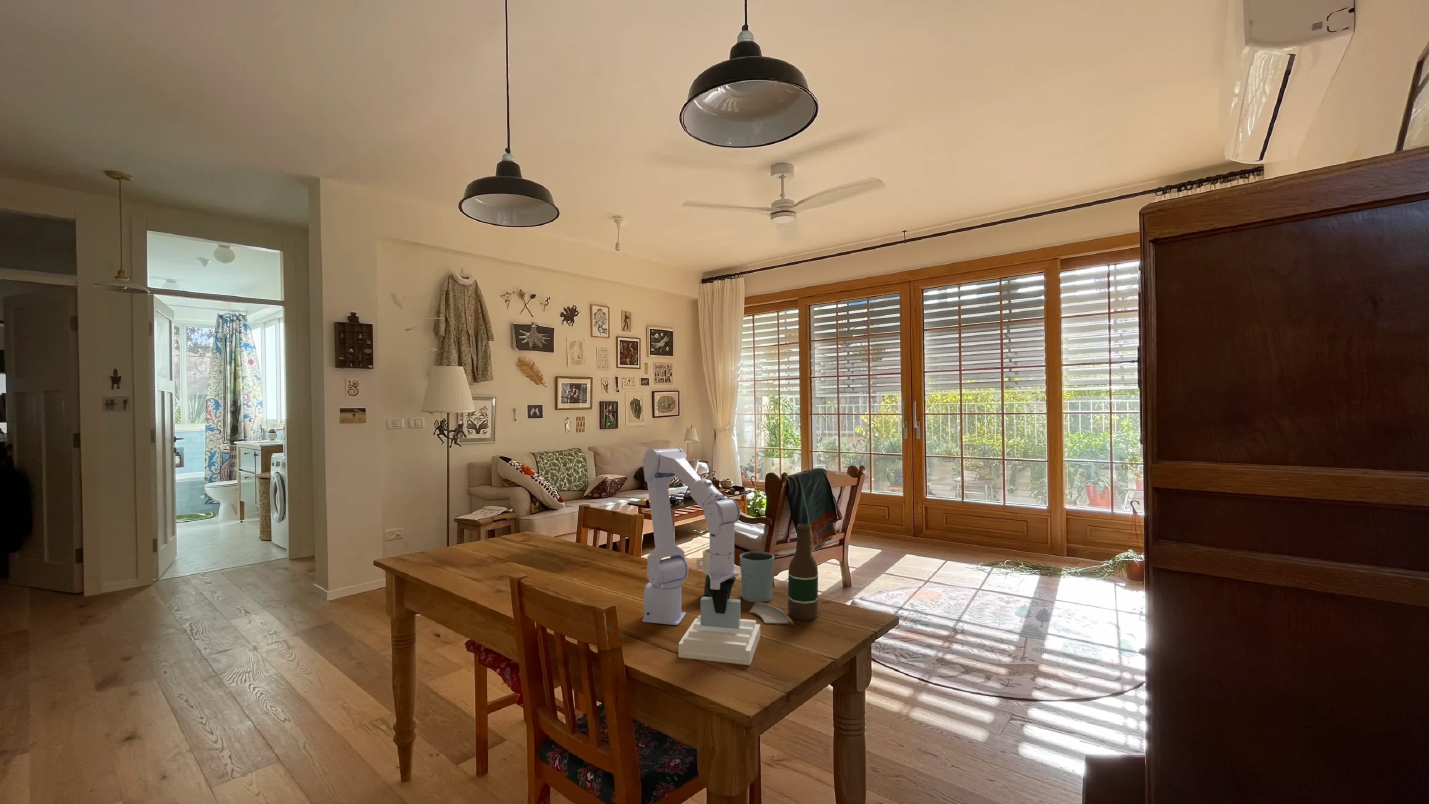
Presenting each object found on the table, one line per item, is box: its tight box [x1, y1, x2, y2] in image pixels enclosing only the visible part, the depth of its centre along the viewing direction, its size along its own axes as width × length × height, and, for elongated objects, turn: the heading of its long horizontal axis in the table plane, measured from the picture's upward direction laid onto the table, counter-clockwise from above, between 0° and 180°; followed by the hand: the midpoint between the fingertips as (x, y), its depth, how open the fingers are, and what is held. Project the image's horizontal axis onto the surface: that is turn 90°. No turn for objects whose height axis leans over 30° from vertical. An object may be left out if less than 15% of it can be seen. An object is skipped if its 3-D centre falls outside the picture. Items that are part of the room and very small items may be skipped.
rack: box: [677, 614, 761, 666], centre depth 131 cm, size 16×15×4 cm
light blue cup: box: [739, 551, 775, 603], centre depth 165 cm, size 10×10×12 cm
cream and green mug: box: [696, 548, 712, 597], centre depth 166 cm, size 11×7×13 cm, turn 104°
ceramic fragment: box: [748, 602, 795, 626], centre depth 148 cm, size 14×5×4 cm, turn 44°
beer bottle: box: [787, 523, 819, 621], centre depth 151 cm, size 8×8×24 cm
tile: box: [699, 596, 742, 629], centre depth 131 cm, size 9×2×6 cm, turn 77°
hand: (721, 610), depth 131 cm, fingers closed on tile, 2 cm apart
